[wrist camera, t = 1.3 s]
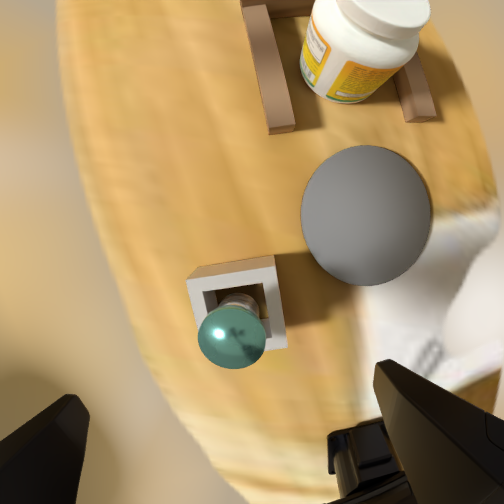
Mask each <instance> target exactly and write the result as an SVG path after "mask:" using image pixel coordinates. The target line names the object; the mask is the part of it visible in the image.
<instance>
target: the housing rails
mask: <svg viewBox="0 0 504 504" xmlns="http://www.w3.org/2000/svg"><path fill="white" fill-rule="evenodd" d="M314 3H315V0H240V5H241V10H242V14H243V18H244V22H245V26H246V31H247V35H248V39H249V43H250V48H251V52H252V56H253V61H254V65H255V70H256V74H257V79H258V84H259V88H260V93H261V98H262V103H263V108H264V112H265V117H266V122H267V127H268V132H269V135H272V134H279V133H286V132H293V129H294V127H295V119H294V114H293V110H292V105H291V101H290V96H289V92H288V88H287V83H286V79H285V75H284V71H283V67H282V63H281V59H280V55H279V51H278V47H277V44H276V40H275V36H274V33H273V29H272V25H271V22H270V19H273V18H283V17H295V16H311V13H312V9H313V5H314ZM393 78H394V81H395V85H396V88H397V92H398V95H399V99H400V102H401V106H402V110H403V114H404V118H405V122H424V121H426V120H429V119H431V118H433V117H436V116H437V115H436V111H435V108H434V104H433V100H432V97H431V93H430V90H429V86H428V83H427V80H426V77H425V74H424V71H423V68H422V65H421V62H420V59H419V57H418V54H417V51H416V52H415V54H414V56H413V57H412V58H411V59H410V60H409V61H408V62H407V63H406V64H405V65H404V66H403V67H401V68H400V69H399V70H398V71H397V72H396V73H394V74H393Z"/></svg>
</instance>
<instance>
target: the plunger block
mask: <svg viewBox="0 0 504 504" xmlns="http://www.w3.org/2000/svg"><path fill="white" fill-rule="evenodd" d="M257 283H263V287H264V293H265V299H266V304H267V310H268V316H269V318H266V319H260V320H261V321H262V323H263V325H264V327H265V331H266V345H265V349H264V351H268V350H275V349H281V348H288V345H287V336H286V328H285V321H284V315H283V308H282V302H281V296H280V289H279V283H278V277H277V271H276V265H275V259H274V255H271V256H265V257H259V258H252V259H246V260H240V261H234V262H228V263H222V264H215V265H209V266H203V267H198V268H197V269H196V270H195V271H194V272H193V273H192V274H191V275H190V276H189V277H188V278H187V279H186V284H187V288H188V292H189V296H190V301H191V305H192V309H193V313H194V316H195V320H196V324H197V328H198V332H199V328H200V326H201V324H202V322H203V320H204V318H205V317H206V316H207V314H209V313H210V312H211V311H212V310H214V309H216V308H218V303H217V298H216V294H215V290H217V289H224V288H230V287H237V286H244V285H250V284H257ZM205 357H206V356H205Z"/></svg>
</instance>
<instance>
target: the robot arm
mask: <svg viewBox="0 0 504 504" xmlns="http://www.w3.org/2000/svg"><path fill="white" fill-rule="evenodd" d="M373 388H374V392H375V395H376V398H377V401H378V404H379V407H380V410H381V413H382V416H383V420H384V421H381V422H377V423H374V424H370V425H366V426H362V427H358V428H353V429H349V430H344V431H340V432H335V433H331V434H329V435H328V436H327V451H328V473H329V474H330V475H334V474H336V478H337V483H338V488H339V493H340V498H341V499H338V500H335V501H333V502H330V503H327V504H504V420H502V419H500V418H498V417H496V416H494V415H492V414H490V413H488V412H484V410H482V409H480V408H478V407H477V406H475V405H473V404H471V403H469V402H467V401H465V400H464V399H462V398H460V397H458V396H456V395H454V394H452V393H451V392H449V391H447V390H445V389H443V388H442V387H440V386H438V385H436V384H434V383H432V382H431V381H429V380H427V379H425V378H423V377H422V376H420V375H418V374H416V373H414V372H413V371H411V370H409V369H407V368H406V367H404V366H402V365H400V364H398V363H397V362H395V361H393V360H391V359H387V360H383V361H380V362H377V363H376V365H375V372H374V380H373ZM89 420H90V415H89V412H88V410H87V408H86V407H85V406H84V404H83V403H82V401H81V400H80V398H79V397H78V396H77V395H75V394H65V395H64V396H62V397H61V398H59V399H58V400H57V401H55V402H54V403H53V404H51V405H50V406H49V407H47V408H46V409H44V410H43V411H41V412H40V413H39V414H37V415H36V416H35V417H33V418H32V419H31V420H29V421H28V422H26V423H25V424H24V425H22V426H21V427H19V428H18V429H17V430H15V431H14V432H13V433H11V434H10V435H8V436H7V437H6V438H4V439H3V440H2V441H0V504H76V498H77V492H78V486H79V482H80V476H81V471H82V466H83V462H84V457H85V450H86V442H87V434H88V427H89ZM324 504H326V503H324Z"/></svg>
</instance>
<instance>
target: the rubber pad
mask: <svg viewBox="0 0 504 504" xmlns="http://www.w3.org/2000/svg"><path fill="white" fill-rule="evenodd" d="M301 226H302V231H303V235H304V238H305V241H306V244H307V246H308V248H309V250H310V252H311V253H312V255H313V256H314V258H315V259H316V261H317V262H318V263H319V264H320V265H321V266H322V267H323V268H324V269H325V270H326V271H327V272H328V273H329V274H331V275H332V276H334V277H335V278H337V279H339V280H341V281H344V282H346V283H349V284H353V285H359V286H373V285H379V284H383V283H386V282H388V281H391V280H393V279H395V278H396V277H398V276H400V275H401V274H402V273H404V272H405V271H406V270H407V269H408V268H409V267H410V266H411V265H412V264H413V263H414V262H415V260H416V259H417V258H418V256H419V255H420V253H421V251H422V249H423V247H424V245H425V243H426V240H427V236H428V233H429V227H430V205H429V199H428V195H427V192H426V189H425V187H424V184H423V182H422V180H421V179H420V177H419V175H418V174H417V172H416V171H415V170H414V168H413V167H412V166H411V165H410V164H409V163H408V162H407V161H406V160H404V159H403V158H402V157H401V156H399V155H397V154H396V153H394V152H392V151H390V150H387V149H385V148H381V147H377V146H369V145H366V146H355V147H350V148H347V149H344V150H342V151H340V152H338V153H336V154H334V155H333V156H331V157H330V158H328V159H327V160H326V161H324V162H323V163H322V164H321V165H320V166H319V167H318V168H317V170H316V171H315V172H314V173H313V175H312V177H311V178H310V180H309V182H308V184H307V186H306V189H305V192H304V195H303V198H302V205H301Z"/></svg>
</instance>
